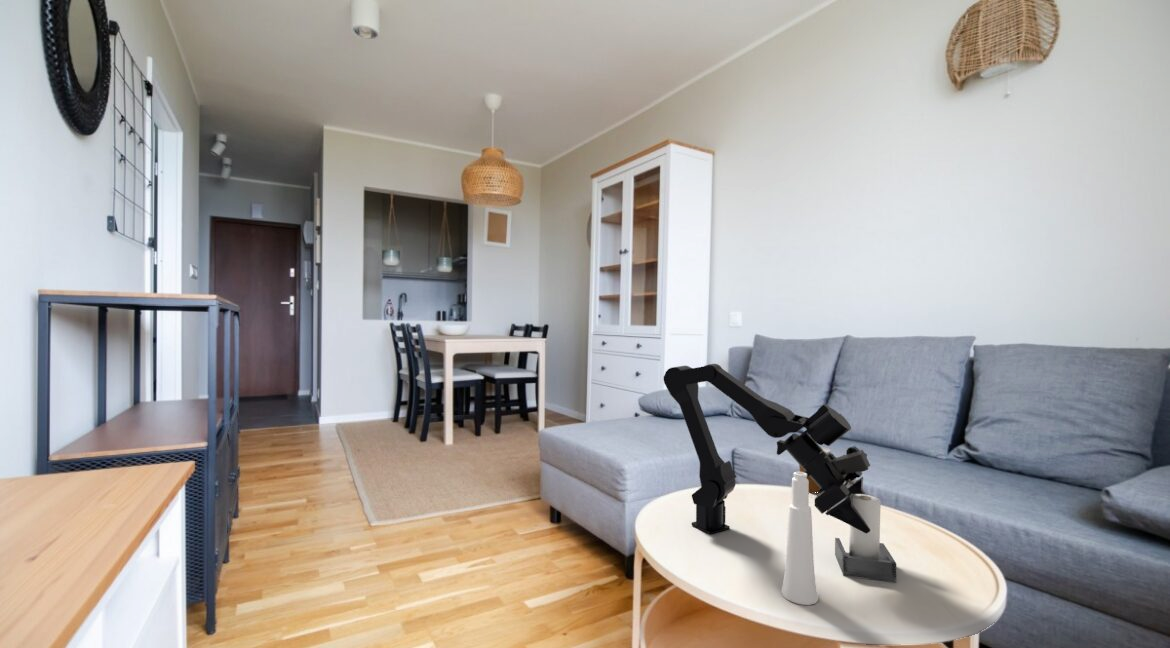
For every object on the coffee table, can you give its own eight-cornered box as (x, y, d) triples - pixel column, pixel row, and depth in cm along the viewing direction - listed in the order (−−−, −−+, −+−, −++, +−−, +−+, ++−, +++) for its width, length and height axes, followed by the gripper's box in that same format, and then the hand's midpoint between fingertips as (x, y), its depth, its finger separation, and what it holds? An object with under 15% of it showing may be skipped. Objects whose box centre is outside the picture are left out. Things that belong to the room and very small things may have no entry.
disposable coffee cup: (833, 488, 148) (834, 447, 148) (829, 498, 140) (830, 454, 140) (798, 482, 153) (799, 443, 153) (793, 491, 145) (793, 450, 145)
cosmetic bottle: (774, 591, 92) (774, 470, 92) (798, 584, 94) (799, 466, 94) (800, 608, 86) (801, 480, 86) (825, 600, 89) (826, 475, 89)
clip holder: (896, 582, 95) (896, 563, 95) (843, 575, 98) (843, 556, 98) (883, 560, 104) (883, 543, 104) (834, 554, 106) (835, 537, 106)
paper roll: (859, 570, 98) (861, 501, 98) (843, 557, 103) (845, 492, 103) (884, 569, 98) (886, 501, 98) (868, 557, 103) (869, 492, 103)
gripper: (833, 444, 95) (901, 517, 89) (851, 428, 110) (910, 488, 104) (789, 478, 100) (851, 549, 94) (812, 458, 115) (867, 518, 109)
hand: (872, 524), depth 100 cm, fingers open, 9 cm apart
